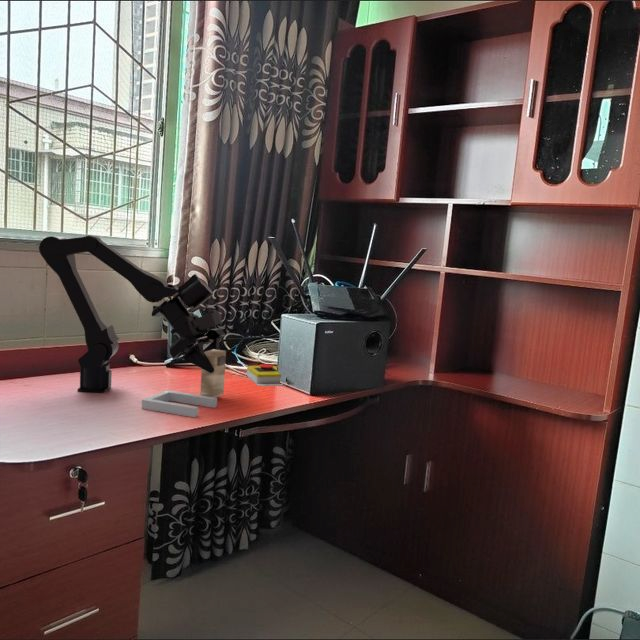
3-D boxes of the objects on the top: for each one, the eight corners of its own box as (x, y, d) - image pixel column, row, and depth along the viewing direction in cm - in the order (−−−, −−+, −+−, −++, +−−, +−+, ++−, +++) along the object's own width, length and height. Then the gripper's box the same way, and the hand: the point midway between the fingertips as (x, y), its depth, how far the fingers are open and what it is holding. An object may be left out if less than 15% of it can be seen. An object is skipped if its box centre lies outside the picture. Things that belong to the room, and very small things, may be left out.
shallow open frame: (141, 408, 139) (141, 399, 139) (167, 398, 149) (167, 390, 149) (194, 417, 135) (194, 408, 135) (216, 406, 145) (217, 398, 145)
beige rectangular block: (200, 396, 149) (202, 352, 148) (211, 392, 154) (213, 349, 153) (215, 399, 148) (217, 354, 147) (225, 394, 153) (228, 351, 152)
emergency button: (274, 360, 185) (291, 371, 171) (273, 374, 185) (290, 387, 171) (244, 361, 181) (259, 372, 167) (243, 375, 182) (258, 388, 168)
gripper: (182, 302, 141) (223, 355, 139) (220, 297, 158) (257, 344, 156) (151, 332, 144) (190, 384, 142) (191, 324, 162) (227, 370, 160)
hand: (218, 369), depth 150 cm, fingers closed on beige rectangular block, 5 cm apart
